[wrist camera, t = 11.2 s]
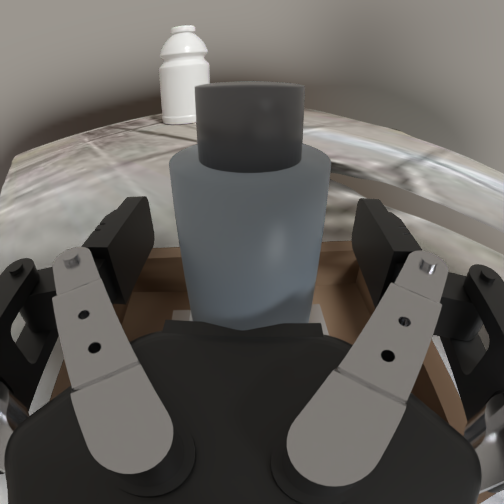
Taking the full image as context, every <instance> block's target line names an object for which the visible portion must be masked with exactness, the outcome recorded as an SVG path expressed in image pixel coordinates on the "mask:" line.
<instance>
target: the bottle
mask: <svg viewBox="0 0 504 504" xmlns="http://www.w3.org/2000/svg"><path fill="white" fill-rule="evenodd" d="M195 31H196V30H195V26H190V25H188V26H177V27H173V28H171V34H173V35H172V36H171V37H170V38H169V39H168V40H167V41H166V43H165V44H164V46H163V47H162V50H161V53H160V57H161V58H162V59H163V61H164V63H163V64H162V65H161V67H160V68H159V75H160V89H161V101H162V102H161V103H162V119H163V123H165V124H172V125H175V124H190V123H196V108H195V86H198V85H203V84H210V73H209V68H210V64H209V63H208V62H207V61H206V60H205V59H204V56H205V55H206V54H207V53H208V50H207V48H206V45H205V44H204V42H203V41H202V40H201V39H200V38H199V37H198V36H197V35H195V34H194V33H193V32H195Z"/></svg>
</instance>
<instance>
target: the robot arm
mask: <svg viewBox="0 0 504 504" xmlns="http://www.w3.org/2000/svg"><path fill="white" fill-rule="evenodd" d="M153 245H154V230H153V224H152V219H151V213H150V207H149V202H148V199H147V197H145V196H142V197H127V198H126V199H125V200H124V201H123V203H122V204H121V205H120V206H119V207H118V209H117V210H114V211H113V212H111V213H110V214H108V215H107V216H105V218H104V219H103V220H102V221H101V222H100V225H98V226H97V227H96V229H95V231H93V232H92V234H91V235H90V236H89V238H88V239H87V240H86V241H85V243H84V244H83V245H82V247H75V248H71V249H68V250H66V251H64V252H63V253H61V254H60V255H59V256H57V257H56V259H55V260H54V262H53V267H50V268H45V269H41V270H37V269H36V267H35V264H34V262H33V260H32V259H29V258H24V259H20V260H17V261H15V262H13V263H12V264H10V265H9V266H8V267H7V268H6V269H5V270H4V271H3V273H2V274H1V275H0V474H4V473H5V474H6V480H7V489H8V504H476V503H477V499H478V496H479V494H480V493H482V492H485V491H488V492H490V493H497V492H500V491H502V490H504V281H503V280H502V279H501V277H500V276H499V275H498V274H497V273H496V272H495V271H494V270H492V269H491V268H489V267H487V266H484V265H479V264H477V265H473V266H471V267H470V269H469V272H468V274H467V276H463V275H458V274H454V273H450V272H448V266H447V264H446V263H445V262H444V261H443V260H442V259H441V258H440V257H439V256H437V255H435V254H433V253H430V252H427V251H422V249H421V248H420V246H419V245H418V243H417V242H416V240H415V239H414V237H413V236H412V235H411V233H410V232H409V230H408V229H407V228H406V226H405V225H404V223H403V222H402V220H401V219H400V218H398V217H397V216H395V215H394V214H393V213H391V212H388V211H387V209H386V208H385V207H384V205H383V204H382V203H381V201H380V200H379V199H364V198H360V199H359V201H358V204H357V210H356V216H355V221H354V227H353V232H352V249H353V252H354V254H355V257H356V259H357V262H358V264H359V267H360V269H361V272H362V275H363V277H364V280H365V282H366V285H367V288H368V290H369V293H370V296H371V299H372V301H373V304H374V307H375V311H374V313H373V314H372V316H371V317H370V319H369V321H368V322H367V324H366V326H365V327H364V329H363V330H362V332H361V333H360V335H359V337H358V338H357V340H356V341H355V343H354V344H353V345H352V344H350V343H348V342H346V341H344V340H341V339H339V338H336V337H332V336H329V335H324V334H323V330H322V325H321V323H281V324H276V325H271V326H266V327H261V328H255V329H250V330H236V329H231V328H227V327H223V326H219V325H215V324H210V323H206V322H202V321H182V320H165V323H164V327H163V330H162V331H158V332H154V333H150V334H147V335H144V336H141V337H139V338H137V339H134V340H133V341H131V342H129V341H128V339H127V337H126V335H125V332H124V330H123V328H122V326H121V324H120V322H119V319H118V317H117V315H116V313H115V310H114V308H113V304H124V305H126V303H127V301H128V299H129V297H130V294H131V292H132V290H133V288H134V286H135V284H136V281H137V279H138V277H139V275H140V273H141V271H142V269H143V266H144V264H145V262H146V260H147V258H148V256H149V254H150V252H151V250H152V248H153ZM19 312H20V314H21V316H22V317H23V319H24V321H25V322H26V324H25V326H24V328H23V330H22V332H21V334H20V336H19V338H18V339H17V341H16V343H15V342H14V341H13V339H12V337H11V325H12V323H13V321H14V320H15V318H16V316H17V314H18V313H19ZM483 324H484V326H485V328H486V330H487V332H488V334H489V338H490V344H489V348H488V350H487V352H486V350H485V348H484V346H483V343H482V341H481V339H480V337H479V335H478V332H479V330H480V328H481V327H482V325H483ZM433 335H437V336H440V339H441V341H442V344H443V347H444V349H445V352H446V355H447V358H448V361H449V363H450V366H451V369H452V372H453V375H454V378H455V381H456V384H457V388H458V391H459V394H460V397H461V401H462V404H463V408H464V411H465V415H466V419H467V424H466V426H465V430H464V436H463V435H462V434H460V433H459V432H458V431H457V430H456V429H454V428H453V427H452V426H451V425H450V424H448V423H447V422H446V421H445V420H444V419H442V418H441V417H440V416H439V415H438V414H436V413H435V412H434V411H433V410H432V409H430V408H429V407H428V406H427V405H426V404H424V403H423V402H422V401H421V400H420V399H418V398H417V397H416V396H415V395H414V394H412V393H411V390H412V388H413V386H414V383H415V381H416V379H417V376H418V374H419V371H420V369H421V366H422V364H423V361H424V358H425V356H426V353H427V350H428V348H429V345H430V342H431V339H432V336H433ZM58 336H59V338H60V343H61V347H62V351H63V356H64V360H65V364H66V367H67V371H68V375H69V378H70V382H71V386H69V387H68V388H67V389H65V390H64V391H63V392H61V393H60V394H59V395H57V396H56V397H55V398H53V399H52V400H51V401H49V402H48V403H47V404H45V405H44V406H43V407H41V408H40V409H39V410H37V411H36V412H35V413H33V414H32V415H31V416H29V413H28V411H29V408H30V405H31V403H32V400H33V397H34V394H35V392H36V389H37V386H38V384H39V381H40V379H41V376H42V373H43V371H44V369H45V366H46V364H47V361H48V359H49V357H50V354H51V352H52V350H53V347H54V345H55V343H56V341H57V338H58Z"/></svg>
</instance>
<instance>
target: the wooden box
mask: <svg viewBox="0 0 504 504" xmlns="http://www.w3.org/2000/svg"><path fill="white" fill-rule="evenodd" d="M113 308H114V310H115V313H116V315H117V317H118V319H119V322H120V324H121V326H122V328H123V330H124V332H125V335H126V337H127V339H128V341H129V342H131V341H133V340H134V339H137V338H139V337H141V336H144V335H147V334H150V333H154V332H158V331H162V330H163V327H164V323H165V320H182V321H193V319H192V314H191V309H190V304H189V298H188V293H187V287H186V281H185V275H184V269H183V263H182V257H181V251H180V247H170V248H152V250H151V252H150V254H149V256H148V258H147V260H146V262H145V264H144V266H143V269H142V271H141V273H140V275H139V277H138V279H137V281H136V284H135V286H134V288H133V290H132V292H131V294H130V297H129V299H128V301H127V303H126V305H124V304H113ZM374 311H375V307H374V304H373V301H372V299H371V296H370V293H369V290H368V288H367V285H366V282H365V280H364V277H363V275H362V272H361V269H360V267H359V264H358V262H357V259H356V257H355V254H354V252H353V249H352V241H330V242H322V243H321V250H320V257H319V264H318V270H317V276H316V283H315V289H314V295H313V301H312V307H311V312H310V318H309V323H321V325H322V330H323V334H324V335H329V336H332V337H336V338H339V339H341V340H344V341H346V342H348V343H350V344H352V345H353V344H354V343H355V341H356V340H357V338H358V337H359V335H360V333H361V332H362V330H363V329H364V327H365V326H366V324H367V322H368V321H369V319H370V317H371V316H372V314H373V313H374ZM69 386H71V382H70V378H69V375H68V371H67V367H66V364H65V360H63V363H62V366H61V368H60V371H59V374H58V377H57V380H56V383H55V386H54V389H53V392H52V395H51V398H50V401H51V400H52V399H53V398H55V397H56V396H57V395H59V394H60V393H61V392H63V391H64V390H65V389H67V388H68V387H69ZM411 393H412V394H414V395H415V396H416V397H417V398H418V399H420V400H421V401H422V402H423V403H424V404H426V405H427V406H428V407H429V408H430V409H432V410H433V411H434V412H435V413H436V414H438V415H439V416H440V417H441V418H442V419H444V420H445V421H446V422H447V423H448V424H450V425H451V426H452V427H453V428H454V429H456V430H457V431H458V432H459V433H460V434H462V435H463V436H464V430H465V426H466V424H467V419H466V415H465V411H464V408H463V404H462V401H461V399H460V397H459V394H458V392H457V390H456V388H455V386H454V383H453V381H452V379H451V377H450V375H449V373H448V371H447V369H446V367H445V365H444V363H443V361H442V359H441V357H440V355H439V353H438V351H437V349H436V347H435V345H434V343H433V341H432V339H431V342H430V345H429V348H428V350H427V353H426V356H425V358H424V361H423V364H422V366H421V369H420V371H419V374H418V376H417V379H416V381H415V383H414V386H413V388H412V390H411ZM494 494H496V493H490V492H488V491H485V492H482V493H480V494H479V496H478V499H477V503H476V504H480V503H481V502H483V501H485V500H486V499H488V498H490V497H491V496H493V495H494Z"/></svg>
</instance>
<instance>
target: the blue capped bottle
mask: <svg viewBox="0 0 504 504" xmlns="http://www.w3.org/2000/svg"><path fill="white" fill-rule="evenodd" d="M304 96H305V86H303V85H299V84H291V83H281V82H261V81H256V82H255V81H242V82H222V83H212V84H203V85H198V86H195V108H196V127H197V143H198V144H196V145H193V146H190V147H188V148H185V149H183V150H181V151H179V152H178V153H176V154H175V155H174V156H173V157H172V158H171V159H170V162H169V168H170V177H171V186H172V194H173V202H174V209H175V217H176V224H177V231H178V238H179V244H180V251H181V257H182V263H183V269H184V275H185V281H186V287H187V293H188V298H189V304H190V309H191V314H192V319H193V321H202V322H206V323H210V324H215V325H219V326H223V327H227V328H231V329H236V330H250V329H255V328H261V327H266V326H271V325H276V324H281V323H309V318H310V312H311V307H312V301H313V295H314V289H315V283H316V276H317V270H318V264H319V257H320V250H321V243H322V236H323V228H324V221H325V213H326V205H327V196H328V187H329V178H330V168H331V161H330V158H329V157H328V156H327V155H326V154H325V153H323V152H322V151H320V150H318V149H316V148H314V147H311V146H309V145H306V144H303V143H302V141H303V120H304Z"/></svg>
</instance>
